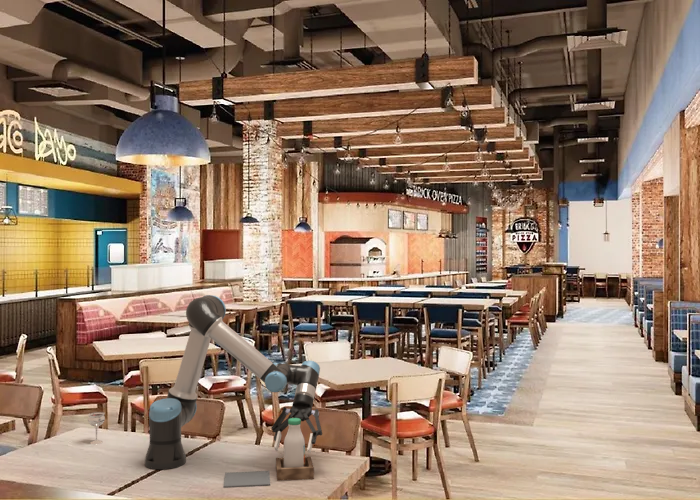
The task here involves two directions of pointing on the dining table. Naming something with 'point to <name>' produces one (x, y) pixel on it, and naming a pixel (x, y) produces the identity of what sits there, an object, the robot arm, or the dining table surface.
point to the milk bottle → (294, 445)
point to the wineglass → (96, 422)
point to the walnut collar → (294, 470)
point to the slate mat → (247, 479)
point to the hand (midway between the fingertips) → (292, 450)
